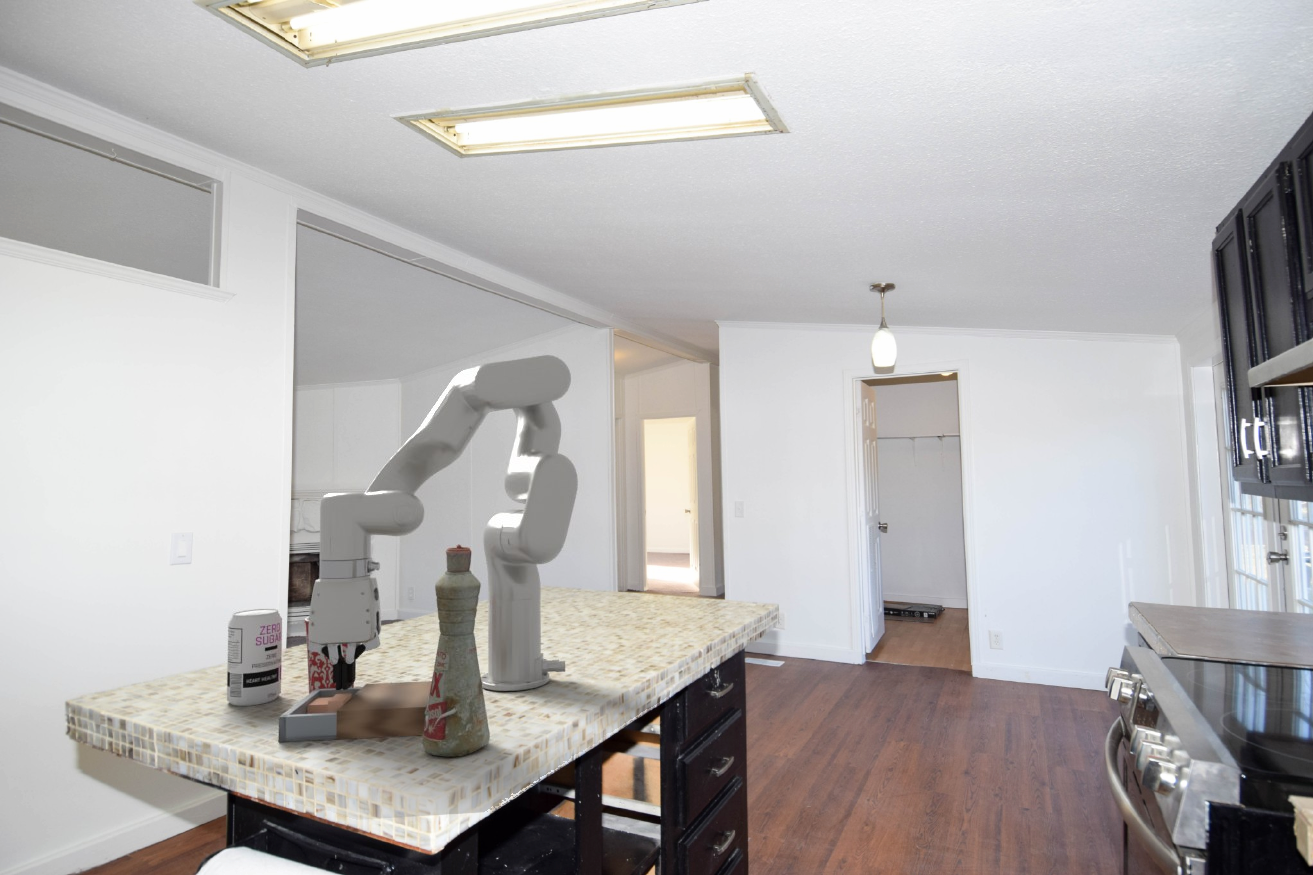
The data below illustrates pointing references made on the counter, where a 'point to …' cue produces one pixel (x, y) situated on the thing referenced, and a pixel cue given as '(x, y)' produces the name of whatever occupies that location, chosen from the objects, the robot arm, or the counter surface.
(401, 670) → the counter surface
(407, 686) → the brown square platform
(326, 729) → the box
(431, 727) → the bottle
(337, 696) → the tile
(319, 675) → the mug
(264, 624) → the supplement can
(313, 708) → the tile
